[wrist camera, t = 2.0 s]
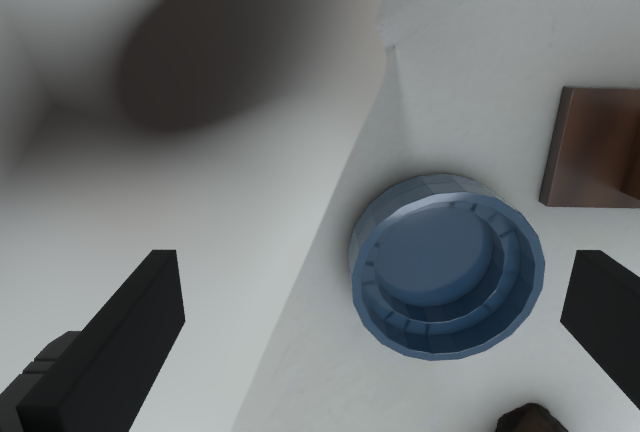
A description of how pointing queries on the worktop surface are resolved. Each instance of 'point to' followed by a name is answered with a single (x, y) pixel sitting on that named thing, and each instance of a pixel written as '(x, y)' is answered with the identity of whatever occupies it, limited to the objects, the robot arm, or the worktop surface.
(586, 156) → the stand
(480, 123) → the worktop surface
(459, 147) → the worktop surface
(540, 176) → the worktop surface
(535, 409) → the jagged boulder
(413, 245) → the bowl
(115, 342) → the robot arm
